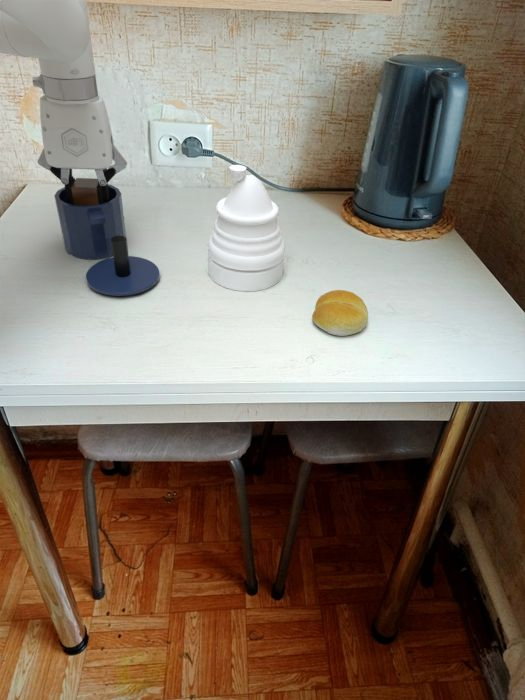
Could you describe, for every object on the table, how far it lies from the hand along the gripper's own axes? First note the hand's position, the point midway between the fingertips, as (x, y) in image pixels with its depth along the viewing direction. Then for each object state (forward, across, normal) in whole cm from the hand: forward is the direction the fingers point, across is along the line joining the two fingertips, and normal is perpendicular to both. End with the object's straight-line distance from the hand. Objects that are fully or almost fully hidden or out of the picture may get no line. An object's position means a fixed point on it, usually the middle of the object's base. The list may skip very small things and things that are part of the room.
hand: (89, 204), depth 87 cm
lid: (+7, +6, -11) cm, 15 cm away
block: (0, 0, 0) cm, 0 cm away
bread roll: (+8, +41, -22) cm, 47 cm away
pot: (+8, 0, 0) cm, 8 cm away
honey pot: (+8, +27, -8) cm, 29 cm away
